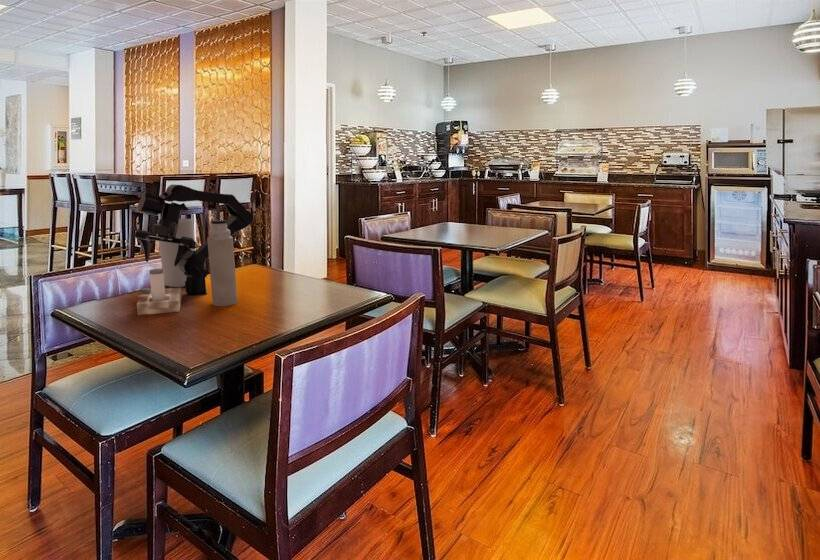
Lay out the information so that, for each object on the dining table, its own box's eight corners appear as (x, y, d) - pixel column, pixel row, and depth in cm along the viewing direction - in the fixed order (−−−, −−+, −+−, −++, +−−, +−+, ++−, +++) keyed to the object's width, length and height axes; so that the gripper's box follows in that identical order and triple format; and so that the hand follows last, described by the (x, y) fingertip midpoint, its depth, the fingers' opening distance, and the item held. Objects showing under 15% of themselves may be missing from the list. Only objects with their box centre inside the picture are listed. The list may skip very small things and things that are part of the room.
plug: (167, 307, 177) (163, 268, 175) (166, 310, 174) (162, 270, 171) (153, 308, 176) (149, 269, 173) (152, 311, 172) (148, 271, 170)
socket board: (181, 297, 191) (180, 283, 190) (179, 311, 172) (178, 296, 171) (144, 300, 187) (142, 286, 186) (137, 315, 168) (136, 299, 167)
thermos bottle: (222, 299, 188) (216, 218, 182) (242, 301, 185) (236, 219, 179) (207, 305, 180) (200, 221, 174) (227, 307, 178) (221, 221, 172)
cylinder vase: (201, 280, 218) (196, 218, 213) (193, 287, 206) (187, 221, 201) (169, 281, 217) (163, 218, 211) (159, 288, 205) (152, 222, 199)
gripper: (133, 208, 177) (123, 255, 174) (192, 218, 179) (183, 263, 177) (144, 217, 188) (135, 261, 185) (200, 226, 190) (191, 269, 188)
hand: (160, 263), depth 183 cm, fingers open, 9 cm apart
